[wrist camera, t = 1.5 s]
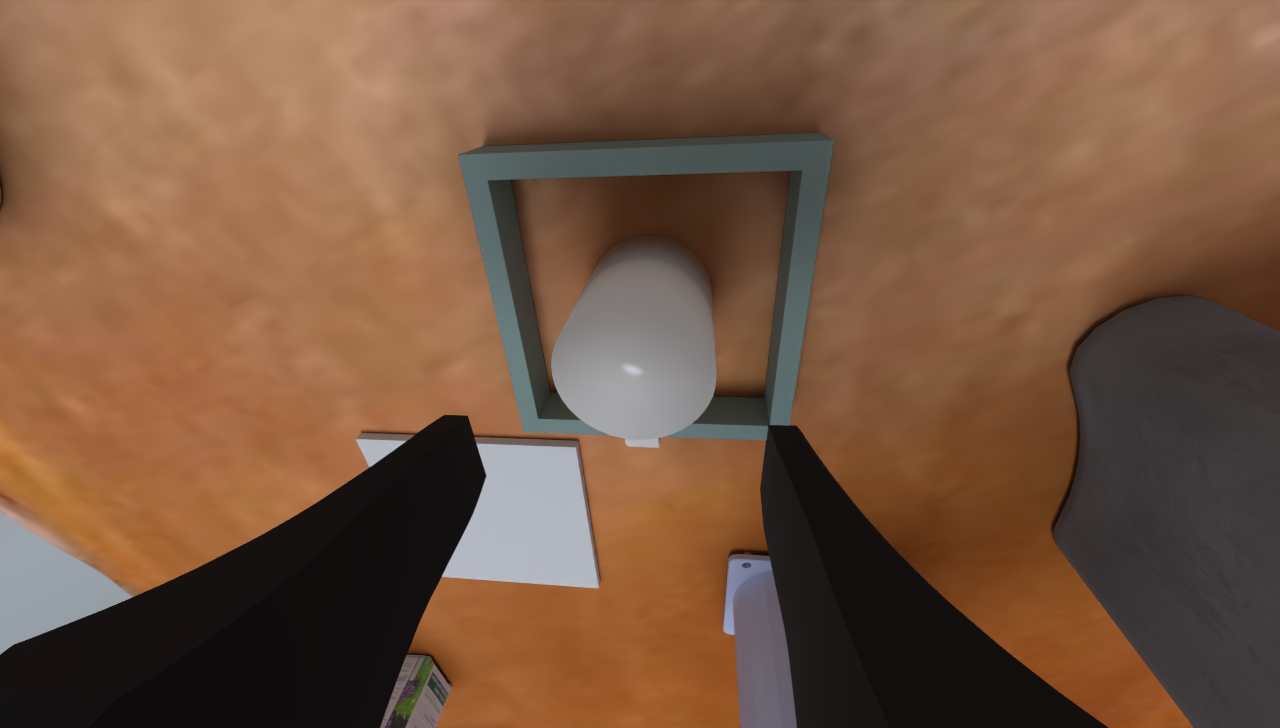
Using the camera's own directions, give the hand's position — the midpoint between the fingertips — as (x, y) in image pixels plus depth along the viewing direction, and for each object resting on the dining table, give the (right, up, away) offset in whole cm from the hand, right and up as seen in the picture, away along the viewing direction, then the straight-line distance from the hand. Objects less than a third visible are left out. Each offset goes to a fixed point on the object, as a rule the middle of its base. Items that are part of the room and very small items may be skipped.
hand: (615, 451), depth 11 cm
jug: (+1, +5, +8) cm, 9 cm away
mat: (-8, -7, +16) cm, 20 cm away
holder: (+1, +5, +8) cm, 9 cm away
